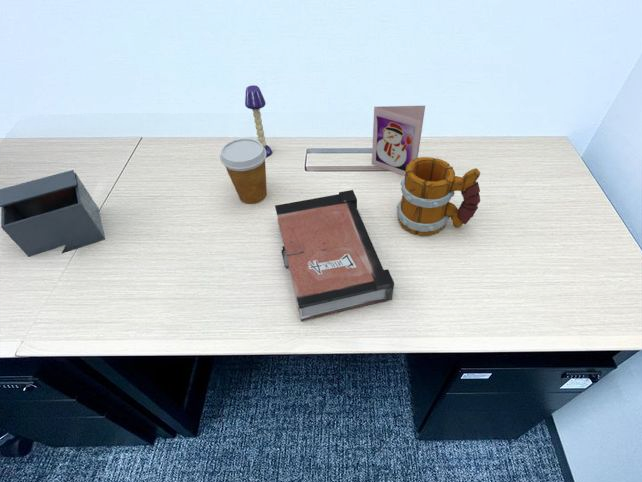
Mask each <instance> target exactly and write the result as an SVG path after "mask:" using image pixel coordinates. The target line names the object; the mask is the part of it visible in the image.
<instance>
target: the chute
mask: <svg viewBox="0 0 642 482" xmlns="http://www.w3.org/2000/svg"><path fill="white" fill-rule="evenodd" d="M74 173H75V178H76V184H77V186H75V187H72V188H68V189H64V190H61V191H57V192H54V193H50V194H47V195H43V196H39V197H36V198H32V199H29V200H25V201H21V202H18V203H14V204H11V205H7V206H4V207H0V210H1V211H0V216H1V217H0V228H1V229H2V230H3V231H4V232H5V234H7V235H8V236H9V237H10V239H11V240H12V241H13V242H14V243H15V244H16V246H17V247H19V248H20V249H21V251H22V252H23V253H24V254H25V255H26V256H27V257H28V258H29V257H33V256H36V255H39V254H42V253H45V252H49V251H51V250H54V249H55V250H56V249H58V248H61V247H63V249H62V251H61V254H62V255H63V254H65V253H67V252H71V251H73V250H77V249H80V248H83V247H86V246H89V245H93V244H96V243H99V242H101V241H104V240H106V237H105V236H106V235H105V232H104V228H103V222H102V219H101V214H100V209H99V207H98V205H97V204H96V202H95V201H94V199H93V197H91V194H90V193H89V191H88V190H87V188H86V186H85V185H84V183H83V182H82V180H81V179H80V177H79V176H78V174H77V173H76V172H74Z"/></svg>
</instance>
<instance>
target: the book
mask: <svg viewBox="0 0 642 482" xmlns="http://www.w3.org/2000/svg"><path fill="white" fill-rule="evenodd" d="M274 207H275V212H276V213H275V214H276V217H277V224H278V228H279V232H280V236H281V240H282V244H283V245H282V246H281V248H282V249H281V254H282V261H283V265H284V268H286V269H288V270H289V275H290V278H291V279H290V280H291V282H292V288H293V292H294V296H295V301H296V304H297V307H298V312H299V316H300V320H301V321H300V322H304V321H309V320H313V319H317V318H321V317H326V316H330V315H334V314H337V313H342V312H343V313H344V312H347V311H350V310H355V309H360V308H364V307H368V306H372V305H376V304H380V303H384V302H388V301H389V302H390V301H392V300H393V296H394V289H395V288H394V287H395V281H394V279H393V277H392V275H391V272H390V270H389V269H388V268H387V269H384V268H383V265H382V263H381V261H380V258H379V256H378V254H377V251H376V249H375V246H374V245H373V242H372V240H371V237H370V235H369V233H368V231H367V228H366V225H365V224H364V221H363V219H362V217H361V215H360V212H359V210H358V198H357V196H356V194H355V191H354V189H350V190H344V191H339V192H338V194H332V195H326V196H321V197H315V198H310V199H304V200H298V201H291V202H287V203H286V202H285V203H281V204H277V205H276V204H275V205H274Z"/></svg>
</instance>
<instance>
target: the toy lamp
mask: <svg viewBox="0 0 642 482" xmlns="http://www.w3.org/2000/svg"><path fill="white" fill-rule="evenodd" d="M266 104H267V103H266V100H265V97H264V96H263V93H262V91H261V88H260V86H258V85H253V84H252V85H248V86H247V87H245V97H244V106H245V107H246V108H247V109H250V110H251V111H252V116H253V118H254V119H253V120H254V121H253V122H254V124H255V125H254V126H255V130H256V136H257V141H259V142H260V143H261V144H262V145H263V147H264V148H265V150H266V154H267V155H266V158H267V157H270V156H271V155H272V154H273V150H272V148H271V146H269V145H267V142H266V137H265V130H264V125H263V119H262V113H261V109H263V108H264V107H265V106H266Z"/></svg>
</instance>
